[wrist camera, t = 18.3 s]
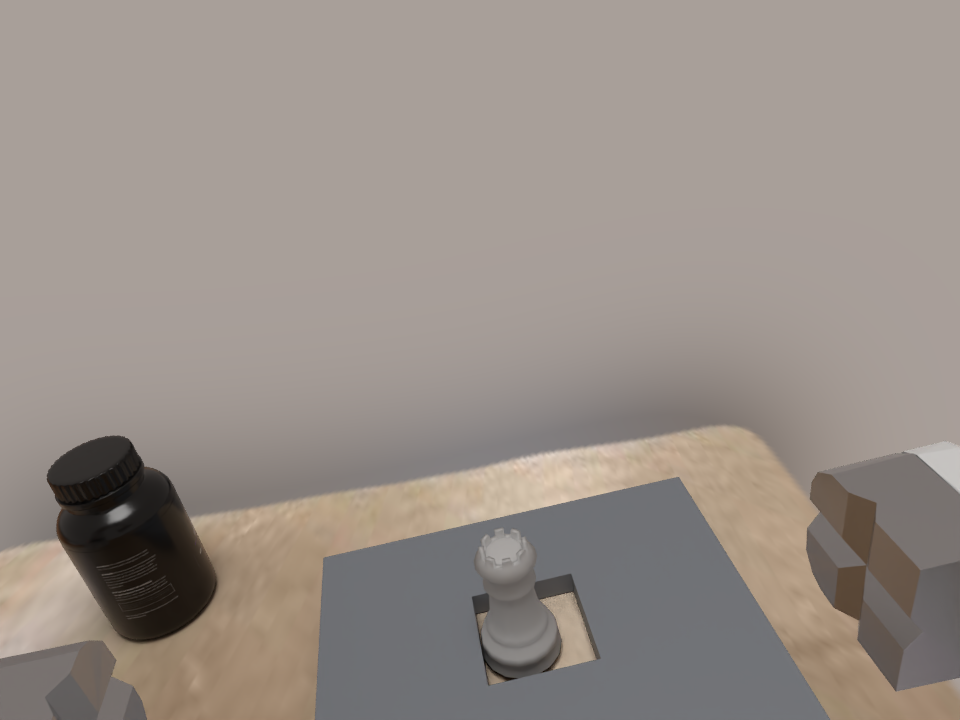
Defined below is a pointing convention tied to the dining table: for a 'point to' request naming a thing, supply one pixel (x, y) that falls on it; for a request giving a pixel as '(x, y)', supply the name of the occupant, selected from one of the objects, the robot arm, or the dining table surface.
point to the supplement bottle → (130, 538)
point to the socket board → (604, 607)
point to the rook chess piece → (514, 608)
